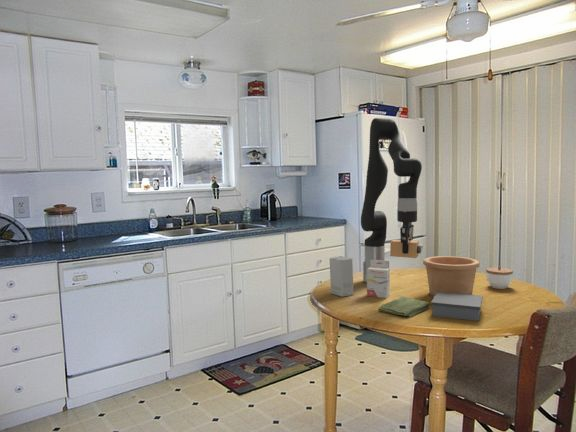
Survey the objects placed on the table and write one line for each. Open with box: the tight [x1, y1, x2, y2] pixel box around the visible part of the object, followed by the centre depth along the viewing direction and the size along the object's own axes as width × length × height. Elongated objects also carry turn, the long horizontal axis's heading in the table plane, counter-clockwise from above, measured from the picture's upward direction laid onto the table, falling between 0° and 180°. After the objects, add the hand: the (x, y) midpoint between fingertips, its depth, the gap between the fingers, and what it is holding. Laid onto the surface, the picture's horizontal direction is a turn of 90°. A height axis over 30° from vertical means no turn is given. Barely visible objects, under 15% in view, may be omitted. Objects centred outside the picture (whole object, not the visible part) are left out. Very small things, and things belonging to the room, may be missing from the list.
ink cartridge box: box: [366, 260, 391, 299], centre depth 189 cm, size 9×5×15 cm, turn 65°
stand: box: [430, 292, 484, 322], centre depth 165 cm, size 16×16×5 cm
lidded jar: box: [485, 265, 514, 290], centre depth 200 cm, size 11×11×9 cm
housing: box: [389, 239, 422, 259], centre depth 181 cm, size 11×6×6 cm, turn 65°
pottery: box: [422, 255, 480, 298], centre depth 189 cm, size 22×22×14 cm
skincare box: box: [329, 256, 354, 298], centre depth 193 cm, size 8×7×16 cm
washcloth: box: [377, 295, 431, 318], centre depth 169 cm, size 13×18×3 cm
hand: (406, 251), depth 181 cm, fingers closed on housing, 5 cm apart
